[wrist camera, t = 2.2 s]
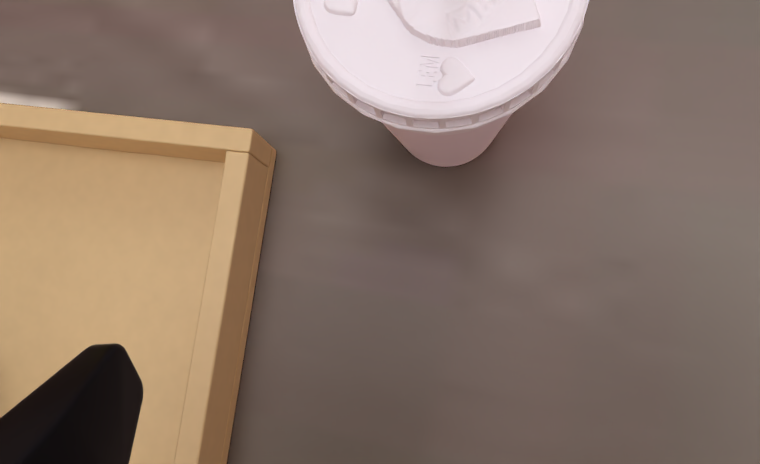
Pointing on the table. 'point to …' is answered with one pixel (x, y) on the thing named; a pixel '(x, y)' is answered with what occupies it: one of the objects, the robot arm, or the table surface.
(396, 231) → the table surface
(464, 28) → the smoothie
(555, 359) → the table surface
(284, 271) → the table surface
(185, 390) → the tray
